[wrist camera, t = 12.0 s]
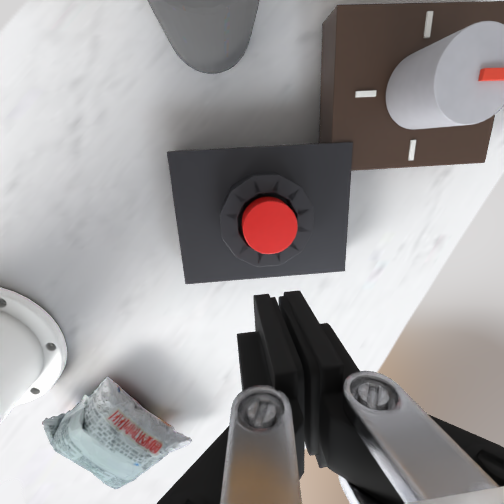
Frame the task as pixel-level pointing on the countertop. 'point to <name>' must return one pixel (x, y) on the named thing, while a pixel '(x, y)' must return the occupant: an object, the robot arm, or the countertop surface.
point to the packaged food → (112, 435)
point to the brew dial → (450, 80)
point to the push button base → (249, 189)
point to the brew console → (377, 77)
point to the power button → (269, 225)
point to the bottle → (207, 30)
